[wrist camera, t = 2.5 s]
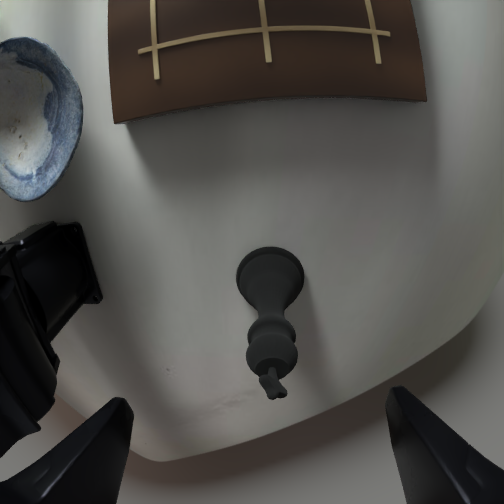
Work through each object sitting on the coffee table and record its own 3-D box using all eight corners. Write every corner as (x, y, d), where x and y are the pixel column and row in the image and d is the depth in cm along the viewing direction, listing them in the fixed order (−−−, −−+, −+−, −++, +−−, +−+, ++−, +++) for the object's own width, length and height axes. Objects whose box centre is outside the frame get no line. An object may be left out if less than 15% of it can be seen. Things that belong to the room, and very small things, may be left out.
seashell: (-12, 213, 19) (-49, 233, 14) (-28, 87, 14) (-66, 91, 9) (115, 173, 17) (72, 191, 13) (98, 6, 12) (58, -16, 8)
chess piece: (275, 232, 18) (284, 338, 9) (316, 281, 20) (349, 399, 10) (222, 272, 20) (191, 390, 10) (265, 316, 21) (263, 438, 12)
